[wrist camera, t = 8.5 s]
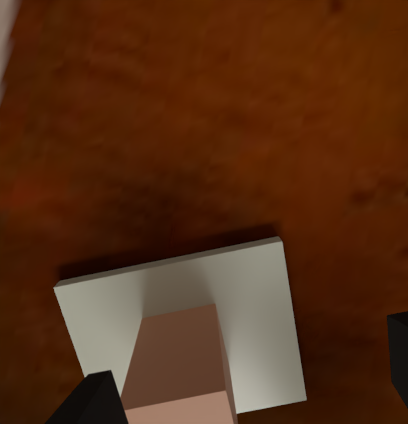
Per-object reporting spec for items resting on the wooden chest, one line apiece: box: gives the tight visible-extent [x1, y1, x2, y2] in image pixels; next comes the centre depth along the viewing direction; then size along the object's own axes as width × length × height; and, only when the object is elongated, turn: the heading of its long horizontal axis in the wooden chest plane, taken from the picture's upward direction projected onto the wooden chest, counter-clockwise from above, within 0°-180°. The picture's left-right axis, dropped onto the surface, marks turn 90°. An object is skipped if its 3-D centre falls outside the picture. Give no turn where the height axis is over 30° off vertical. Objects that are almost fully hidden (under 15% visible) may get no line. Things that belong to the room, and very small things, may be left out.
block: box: [120, 304, 238, 424], centre depth 15 cm, size 4×4×6 cm
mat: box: [54, 236, 307, 414], centre depth 18 cm, size 12×10×1 cm
